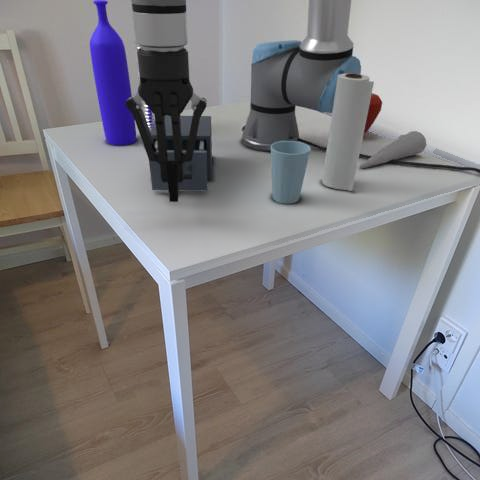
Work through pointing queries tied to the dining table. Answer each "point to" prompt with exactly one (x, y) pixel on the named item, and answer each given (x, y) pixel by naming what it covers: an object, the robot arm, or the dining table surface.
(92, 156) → the dining table surface
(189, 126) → the cabinet
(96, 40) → the bottle
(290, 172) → the cup
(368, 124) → the apple
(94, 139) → the dining table surface
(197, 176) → the drawer
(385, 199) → the dining table surface
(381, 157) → the long tapered cone
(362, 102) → the paper towel roll
